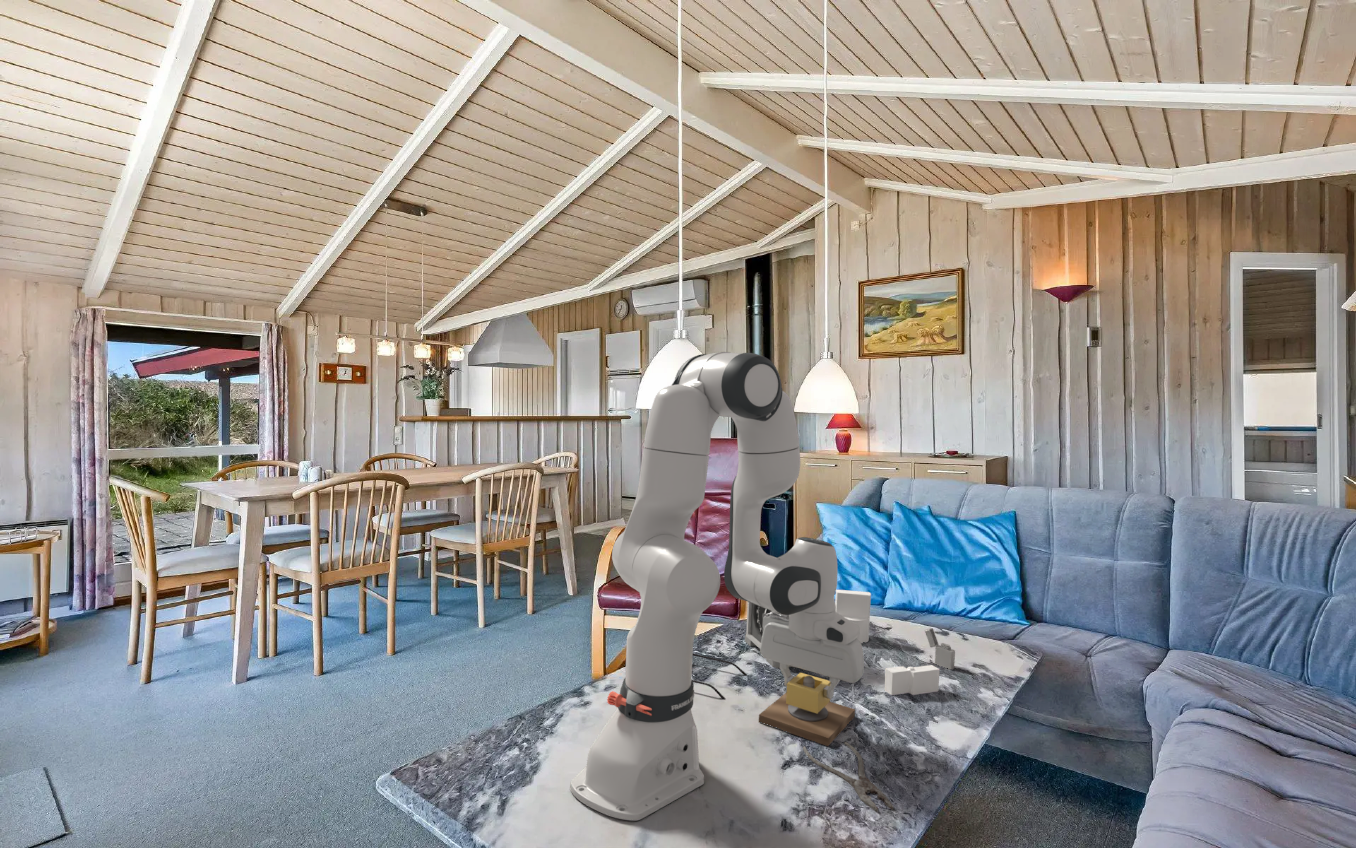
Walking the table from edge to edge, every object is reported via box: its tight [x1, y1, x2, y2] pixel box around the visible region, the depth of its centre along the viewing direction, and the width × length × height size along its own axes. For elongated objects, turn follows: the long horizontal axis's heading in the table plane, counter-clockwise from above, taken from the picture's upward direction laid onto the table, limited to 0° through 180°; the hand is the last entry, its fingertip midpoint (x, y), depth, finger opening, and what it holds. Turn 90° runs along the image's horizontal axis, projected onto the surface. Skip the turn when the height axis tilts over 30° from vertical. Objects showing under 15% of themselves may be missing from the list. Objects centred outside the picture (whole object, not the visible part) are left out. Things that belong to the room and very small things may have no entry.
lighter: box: [924, 627, 956, 670], centre depth 158 cm, size 7×2×8 cm, turn 42°
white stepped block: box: [883, 664, 940, 696], centre depth 143 cm, size 15×11×6 cm
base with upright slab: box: [834, 589, 872, 644], centre depth 174 cm, size 9×9×12 cm
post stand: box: [758, 675, 856, 747], centre depth 128 cm, size 14×14×9 cm
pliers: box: [802, 741, 894, 813], centre depth 110 cm, size 10×1×20 cm
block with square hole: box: [786, 672, 832, 713], centre depth 128 cm, size 6×6×4 cm
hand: (808, 691), depth 128 cm, fingers open, 7 cm apart
